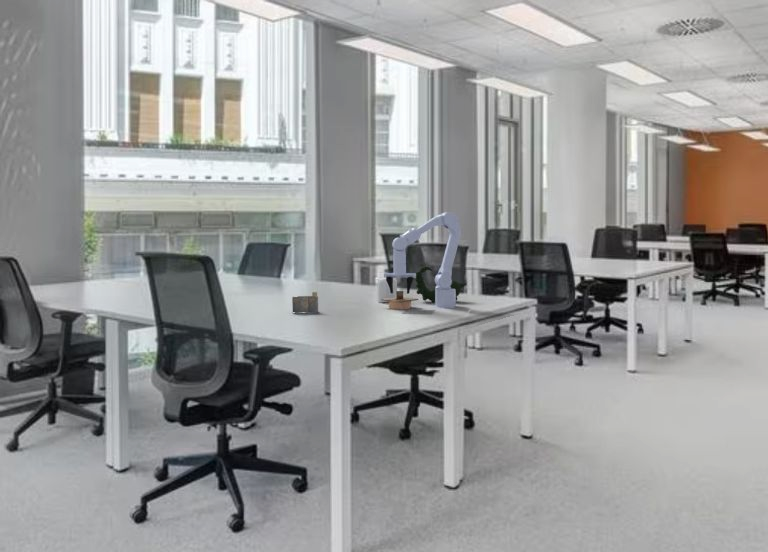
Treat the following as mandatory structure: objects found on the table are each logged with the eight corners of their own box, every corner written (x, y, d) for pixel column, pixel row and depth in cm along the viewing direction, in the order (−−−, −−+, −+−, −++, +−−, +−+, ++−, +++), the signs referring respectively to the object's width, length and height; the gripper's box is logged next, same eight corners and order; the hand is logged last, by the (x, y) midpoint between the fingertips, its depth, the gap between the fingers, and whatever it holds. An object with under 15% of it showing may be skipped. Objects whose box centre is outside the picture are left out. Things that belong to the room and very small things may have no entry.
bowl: (412, 307, 320) (412, 299, 320) (408, 310, 311) (408, 301, 310) (391, 307, 322) (391, 298, 322) (387, 310, 313) (387, 301, 312)
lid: (418, 300, 316) (418, 291, 315) (400, 302, 307) (399, 293, 307) (399, 297, 324) (399, 289, 324) (381, 300, 316) (381, 291, 316)
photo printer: (393, 300, 346) (393, 276, 345) (398, 301, 342) (398, 276, 341) (376, 302, 340) (376, 277, 339) (381, 303, 337) (380, 278, 335)
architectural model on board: (318, 312, 311) (317, 291, 310) (318, 313, 308) (317, 291, 307) (293, 313, 310) (292, 291, 309) (292, 314, 307) (292, 292, 306)
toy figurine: (418, 306, 335) (469, 301, 335) (414, 268, 333) (465, 263, 333) (417, 304, 344) (466, 299, 344) (413, 266, 342) (463, 261, 342)
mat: (435, 311, 307) (435, 310, 307) (431, 315, 295) (431, 314, 295) (407, 310, 310) (407, 309, 310) (401, 315, 298) (401, 313, 297)
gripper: (416, 263, 317) (417, 292, 318) (386, 263, 320) (386, 292, 321) (414, 264, 310) (414, 294, 311) (382, 264, 313) (383, 293, 314)
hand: (399, 293), depth 316 cm, fingers open, 7 cm apart
